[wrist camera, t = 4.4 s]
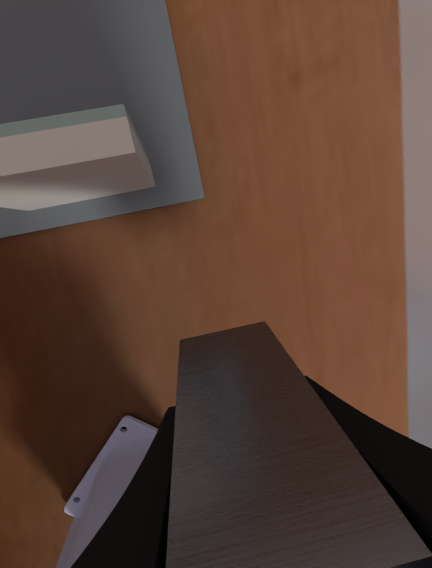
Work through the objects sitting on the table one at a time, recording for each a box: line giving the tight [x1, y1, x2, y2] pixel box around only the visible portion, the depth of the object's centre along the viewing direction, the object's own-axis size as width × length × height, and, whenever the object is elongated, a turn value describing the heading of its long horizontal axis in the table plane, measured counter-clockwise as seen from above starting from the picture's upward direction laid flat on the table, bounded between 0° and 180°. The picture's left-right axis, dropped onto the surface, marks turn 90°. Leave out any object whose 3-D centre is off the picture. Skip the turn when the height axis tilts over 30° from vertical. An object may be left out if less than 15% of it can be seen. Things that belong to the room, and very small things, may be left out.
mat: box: [0, 0, 205, 238], centre depth 16 cm, size 14×14×1 cm
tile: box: [0, 104, 155, 211], centre depth 13 cm, size 2×8×8 cm, turn 101°
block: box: [166, 321, 432, 568], centre depth 9 cm, size 4×4×9 cm
